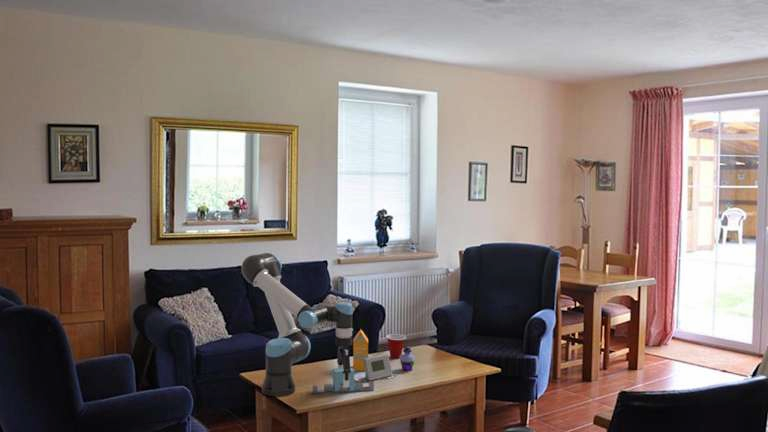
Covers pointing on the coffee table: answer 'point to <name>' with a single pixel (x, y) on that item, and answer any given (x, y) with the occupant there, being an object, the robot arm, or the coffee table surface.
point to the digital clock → (377, 367)
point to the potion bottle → (407, 359)
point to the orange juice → (360, 350)
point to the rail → (329, 388)
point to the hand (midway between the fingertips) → (343, 383)
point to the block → (339, 379)
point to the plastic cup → (395, 345)
